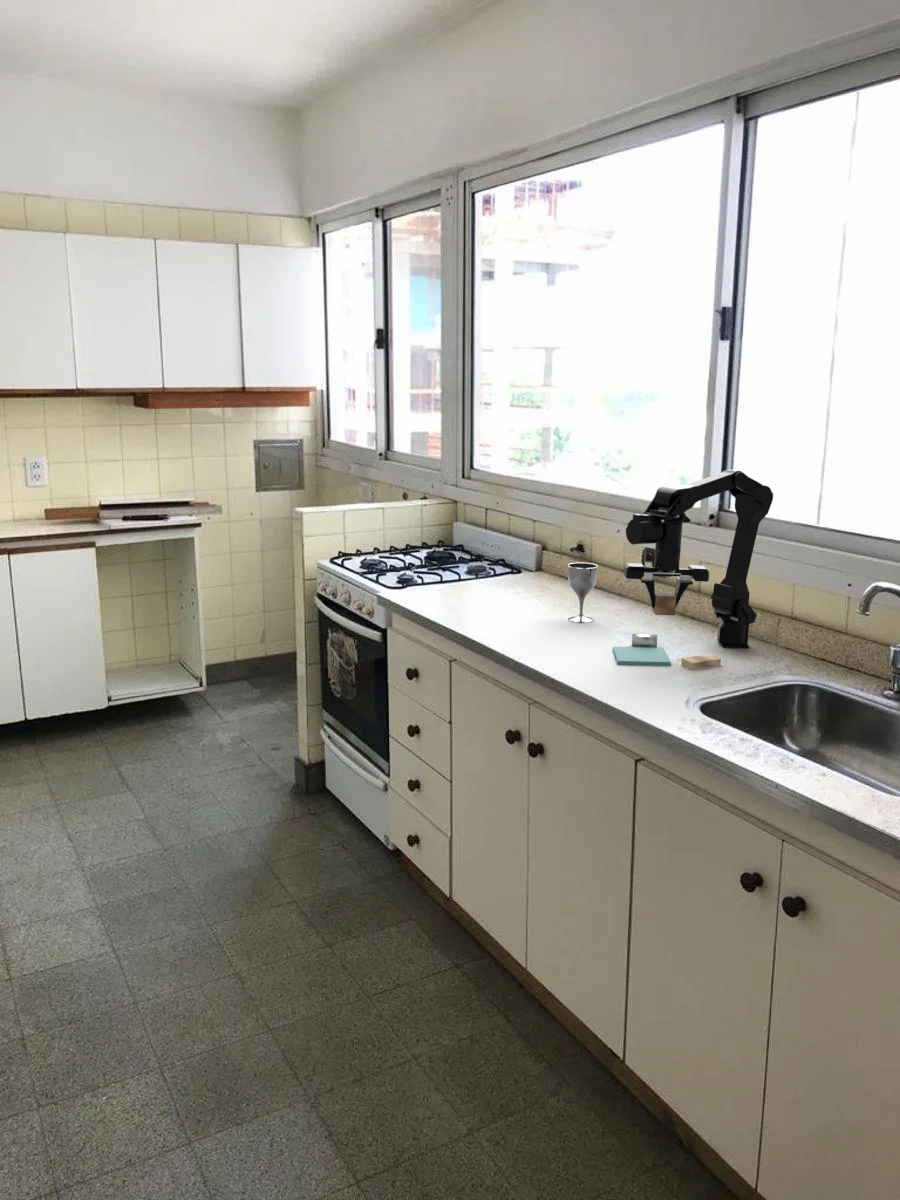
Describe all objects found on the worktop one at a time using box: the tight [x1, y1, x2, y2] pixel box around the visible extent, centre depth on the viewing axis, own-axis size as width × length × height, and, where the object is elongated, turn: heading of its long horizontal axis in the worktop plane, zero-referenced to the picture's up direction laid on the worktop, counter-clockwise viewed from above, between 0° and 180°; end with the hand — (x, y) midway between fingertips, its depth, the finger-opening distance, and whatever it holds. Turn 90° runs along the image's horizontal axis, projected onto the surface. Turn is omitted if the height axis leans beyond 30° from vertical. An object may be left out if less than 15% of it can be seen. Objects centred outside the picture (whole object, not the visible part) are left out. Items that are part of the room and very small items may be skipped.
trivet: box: [612, 646, 672, 666], centre depth 229 cm, size 12×12×1 cm
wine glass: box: [567, 562, 599, 624], centre depth 262 cm, size 8×8×15 cm
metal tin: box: [631, 631, 658, 648], centre depth 238 cm, size 6×6×3 cm
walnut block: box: [651, 591, 676, 616], centre depth 227 cm, size 4×4×4 cm
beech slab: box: [680, 653, 722, 670], centre depth 223 cm, size 8×4×2 cm, turn 114°
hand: (663, 608), depth 227 cm, fingers closed on walnut block, 4 cm apart
